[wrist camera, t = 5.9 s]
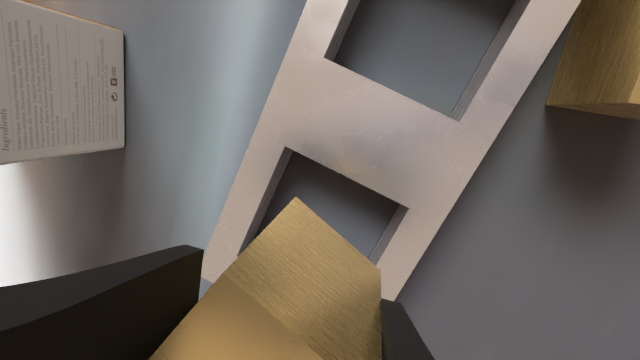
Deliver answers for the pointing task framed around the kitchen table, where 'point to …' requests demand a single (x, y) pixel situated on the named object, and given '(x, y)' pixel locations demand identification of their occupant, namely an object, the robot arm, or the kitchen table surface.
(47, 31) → the small box
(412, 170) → the white slotted board
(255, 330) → the brushed gold block
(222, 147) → the kitchen table surface
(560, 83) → the wooden brick
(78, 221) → the kitchen table surface
